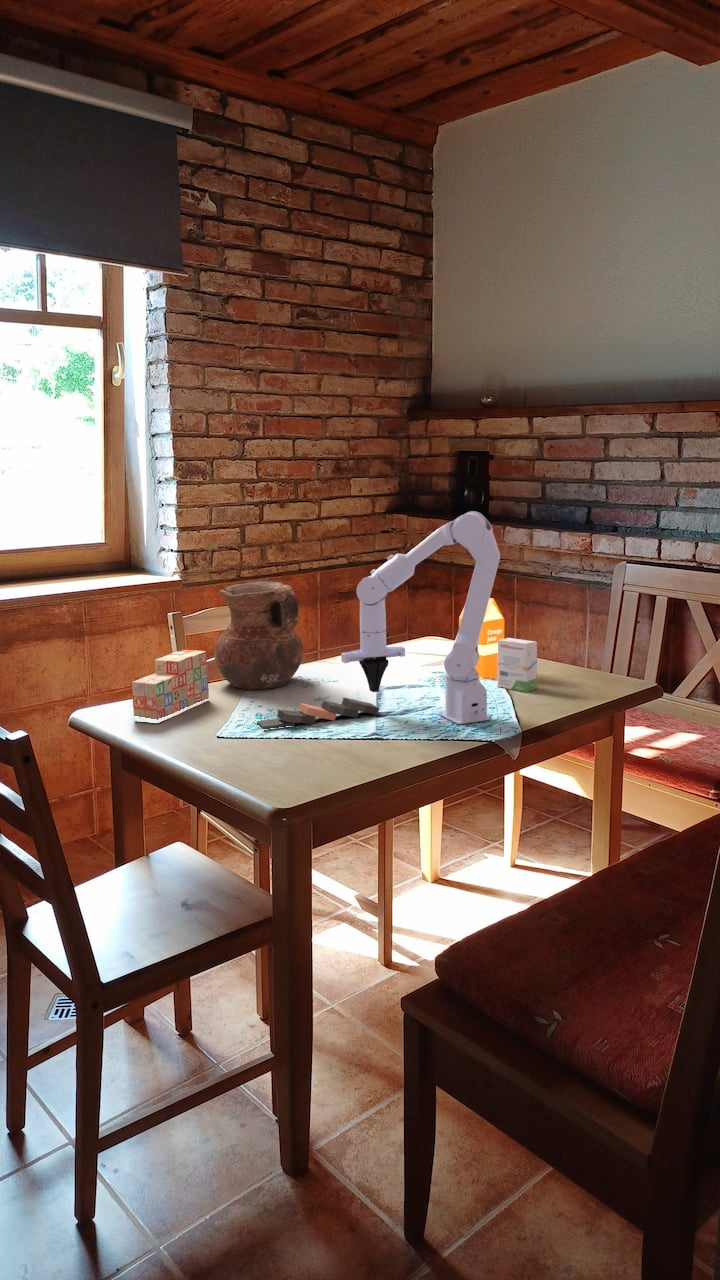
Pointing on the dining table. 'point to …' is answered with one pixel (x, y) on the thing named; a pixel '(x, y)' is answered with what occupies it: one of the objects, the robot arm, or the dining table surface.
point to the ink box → (517, 664)
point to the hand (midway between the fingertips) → (374, 691)
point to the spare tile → (316, 711)
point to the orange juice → (489, 640)
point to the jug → (259, 636)
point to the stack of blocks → (172, 685)
